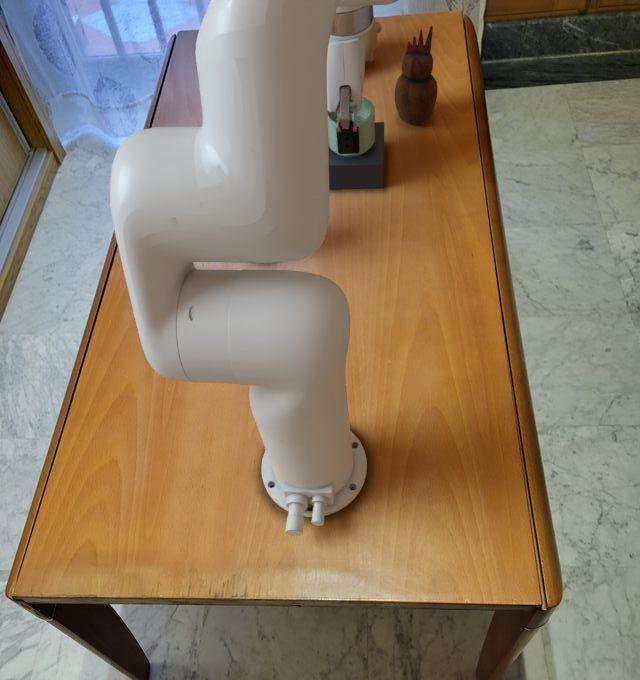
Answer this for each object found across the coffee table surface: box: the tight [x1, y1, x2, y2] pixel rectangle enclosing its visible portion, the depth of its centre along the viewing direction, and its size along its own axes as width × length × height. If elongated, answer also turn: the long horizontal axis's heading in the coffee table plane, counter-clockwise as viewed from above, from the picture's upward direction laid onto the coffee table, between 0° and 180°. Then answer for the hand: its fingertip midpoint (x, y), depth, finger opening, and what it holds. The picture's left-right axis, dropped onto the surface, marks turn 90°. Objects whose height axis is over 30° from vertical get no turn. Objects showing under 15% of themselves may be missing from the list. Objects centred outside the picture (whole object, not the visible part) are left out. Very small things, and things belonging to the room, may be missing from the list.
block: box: [328, 121, 385, 190], centre depth 100 cm, size 10×10×4 cm
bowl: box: [327, 96, 376, 157], centre depth 96 cm, size 7×7×6 cm
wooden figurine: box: [394, 25, 439, 126], centre depth 101 cm, size 7×6×15 cm
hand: (350, 131), depth 97 cm, fingers open, 9 cm apart
